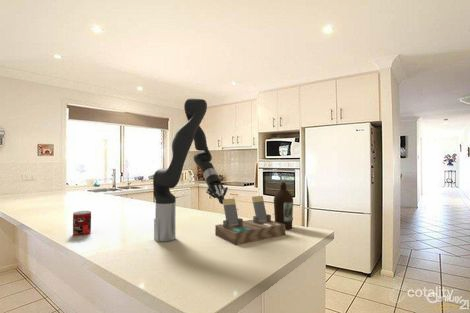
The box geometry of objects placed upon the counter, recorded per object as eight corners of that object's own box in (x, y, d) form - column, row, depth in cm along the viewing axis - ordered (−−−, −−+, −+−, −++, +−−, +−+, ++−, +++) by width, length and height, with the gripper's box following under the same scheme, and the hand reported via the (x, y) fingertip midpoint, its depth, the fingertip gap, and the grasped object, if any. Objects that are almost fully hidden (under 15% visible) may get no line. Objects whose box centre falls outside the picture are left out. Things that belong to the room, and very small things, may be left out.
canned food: (69, 234, 132) (69, 212, 132) (85, 231, 139) (85, 210, 139) (78, 236, 128) (79, 214, 128) (94, 232, 135) (94, 211, 135)
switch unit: (234, 244, 115) (234, 226, 115) (215, 235, 130) (215, 218, 131) (285, 234, 131) (285, 218, 131) (262, 227, 146) (262, 212, 147)
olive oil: (269, 226, 147) (269, 182, 147) (283, 224, 153) (283, 181, 153) (283, 231, 138) (283, 183, 139) (297, 228, 144) (297, 182, 144)
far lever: (258, 221, 135) (253, 196, 139) (256, 222, 136) (251, 197, 140) (267, 220, 138) (262, 195, 142) (266, 221, 140) (260, 196, 144)
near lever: (228, 226, 125) (224, 199, 129) (227, 227, 127) (222, 200, 131) (239, 224, 129) (234, 198, 133) (237, 225, 130) (232, 199, 134)
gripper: (203, 174, 141) (214, 199, 131) (224, 173, 148) (236, 197, 138) (199, 183, 146) (209, 208, 135) (219, 182, 153) (231, 206, 142)
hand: (223, 203), depth 136 cm, fingers closed
